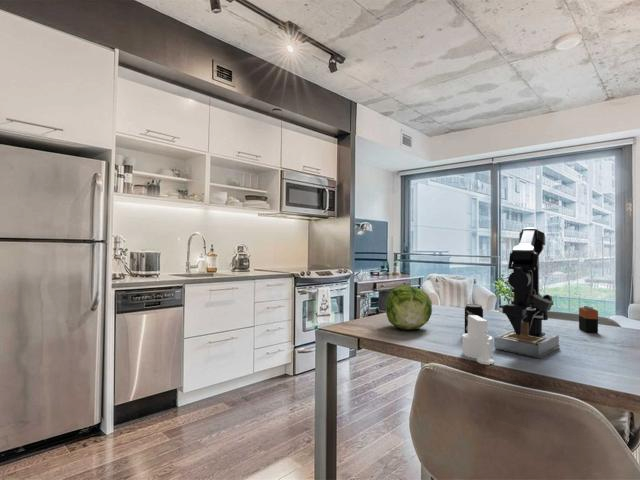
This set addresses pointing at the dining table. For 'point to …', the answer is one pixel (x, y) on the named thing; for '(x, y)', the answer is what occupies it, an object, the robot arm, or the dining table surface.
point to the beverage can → (472, 313)
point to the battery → (588, 319)
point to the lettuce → (408, 307)
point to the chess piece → (485, 351)
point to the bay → (527, 345)
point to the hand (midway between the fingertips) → (523, 332)
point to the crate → (524, 335)
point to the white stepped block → (475, 338)
